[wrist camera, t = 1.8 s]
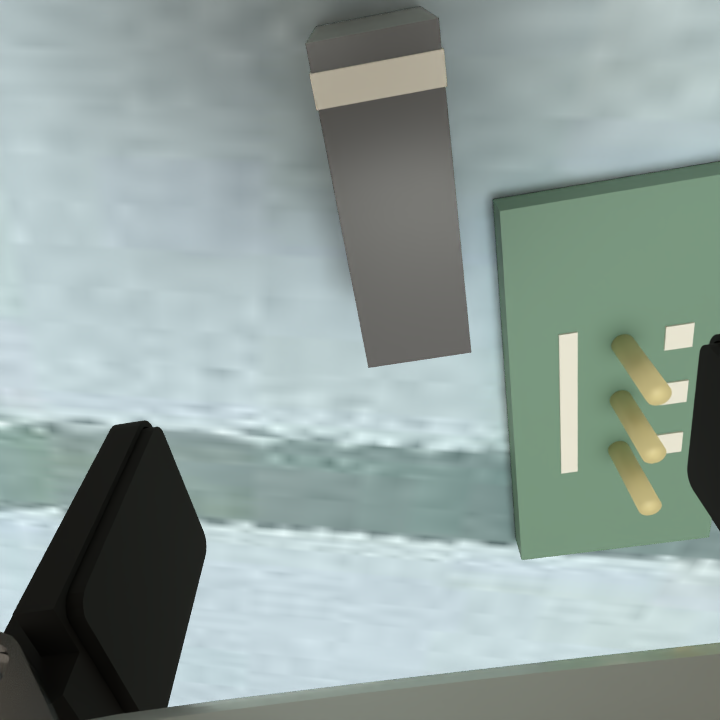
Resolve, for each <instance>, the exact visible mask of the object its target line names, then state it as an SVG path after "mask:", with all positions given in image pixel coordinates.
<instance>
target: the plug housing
mask: <svg viewBox="0 0 720 720" xmlns="http://www.w3.org/2000/svg"><path fill="white" fill-rule="evenodd" d="M306 49H307V54H308V59H309V64H310V69H311V72H310V74H309V75H310V80H311V85H312V90H313V95H314V100H315V105H316V110H319V116H320V121H321V126H322V131H323V136H324V141H325V146H326V152H327V157H328V162H329V167H330V172H331V177H332V182H333V188H334V193H335V198H336V203H337V208H338V213H339V219H340V224H341V229H342V234H343V239H344V244H345V249H346V255H347V260H348V265H349V270H350V275H351V280H352V285H353V291H354V296H355V301H356V306H357V311H358V316H359V321H360V327H361V332H362V337H363V342H364V347H365V352H366V357H367V363H368V368H370V367H377V366H384V365H390V364H397V363H404V362H410V361H417V360H424V359H431V358H437V357H444V356H451V355H457V354H464V353H471V345H470V335H469V324H468V314H467V304H466V294H465V283H464V273H463V263H462V252H461V242H460V232H459V222H458V211H457V201H456V191H455V181H454V170H453V160H452V150H451V139H450V129H449V119H448V109H447V98H446V88H445V87H446V86H447V77H446V66H445V56H444V49H443V48H442V47H441V37H440V26H439V18H438V17H436V16H435V15H433V14H432V13H430V12H429V11H427V10H425V9H424V8H422V7H421V6H419V7H414V8H409V9H404V10H399V11H394V12H388V13H383V14H378V15H373V16H368V17H363V18H358V19H352V20H347V21H342V22H337V23H332V24H327V25H321V26H316V28H315V29H314V31H313V32H312V34H311V36H310V37H309V39H308V40H307V42H306Z"/></svg>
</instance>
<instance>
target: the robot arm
mask: <svg viewBox="0 0 720 720" xmlns="http://www.w3.org/2000/svg"><path fill="white" fill-rule="evenodd" d="M687 474H688V479H689V483H690V485H691V487H692V489H693V491H694V493H695V494H696V496H697V497H698V499H699V500H700V502H701V503H702V505H703V506H704V508H705V509H706V511H707V512H708V514H709V515H710V517H711V518H712V520H713V521H714V523H715V524H716V526H717V527H718V529H719V530H720V334H715V335H714V336H712V338H711V340H710V343H709V344H707V345H703V346H702V347H701V349H700V353H699V361H698V370H697V379H696V389H695V398H694V407H693V417H692V426H691V436H690V445H689V454H688V464H687ZM205 555H206V538H205V534H204V531H203V529H202V527H201V524H200V522H199V519H198V517H197V514H196V512H195V509H194V507H193V504H192V502H191V499H190V497H189V494H188V492H187V490H186V487H185V485H184V482H183V480H182V477H181V475H180V472H179V470H178V467H177V465H176V462H175V460H174V458H173V455H172V453H171V450H170V448H169V445H168V443H167V440H166V438H165V435H164V433H163V431H162V430H161V428H160V427H152V425H151V424H150V423H149V422H148V421H138V422H131V423H125V424H118V425H114V426H113V427H112V428H111V429H110V431H109V433H108V435H107V437H106V439H105V441H104V443H103V444H102V446H101V448H100V450H99V452H98V454H97V456H96V458H95V460H94V461H93V463H92V465H91V467H90V469H89V471H88V473H87V475H86V477H85V479H84V480H83V482H82V484H81V486H80V488H79V490H78V492H77V494H76V496H75V497H74V499H73V501H72V503H71V505H70V507H69V509H68V511H67V513H66V514H65V516H64V518H63V520H62V522H61V524H60V526H59V528H58V530H57V531H56V533H55V535H54V537H53V539H52V541H51V543H50V545H49V547H48V548H47V550H46V552H45V554H44V556H43V558H42V560H41V562H40V564H39V566H38V567H37V569H36V571H35V573H34V575H33V577H32V579H31V581H30V583H29V584H28V586H27V588H26V590H25V592H24V594H23V596H22V598H21V600H20V601H19V603H18V605H17V607H16V609H15V611H14V613H13V616H12V618H11V620H10V622H9V624H8V626H7V627H6V629H5V631H4V633H2V632H0V720H720V643H712V644H703V645H694V646H684V647H675V648H666V649H657V650H648V651H639V652H630V653H621V654H612V655H602V656H593V657H584V658H575V659H566V660H558V661H549V662H540V663H531V664H523V665H514V666H505V667H496V668H488V669H479V670H470V671H461V672H453V673H444V674H436V675H427V676H418V677H410V678H401V679H393V680H384V681H375V682H367V683H359V684H350V685H342V686H334V687H326V688H317V689H309V690H301V691H293V692H284V693H276V694H268V695H259V696H251V697H243V698H235V699H226V700H218V701H211V702H203V703H196V704H189V705H182V706H174V707H167V706H168V703H169V699H170V695H171V691H172V687H173V683H174V679H175V675H176V671H177V667H178V663H179V659H180V655H181V651H182V647H183V643H184V639H185V635H186V631H187V627H188V623H189V619H190V615H191V611H192V607H193V603H194V599H195V595H196V591H197V587H198V583H199V579H200V575H201V571H202V567H203V563H204V559H205Z"/></svg>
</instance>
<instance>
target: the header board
mask: <svg viewBox="0 0 720 720" xmlns="http://www.w3.org/2000/svg"><path fill="white" fill-rule="evenodd" d="M493 207H494V222H495V237H496V251H497V266H498V281H499V296H500V310H501V325H502V340H503V355H504V369H505V384H506V399H507V414H508V428H509V443H510V458H511V473H512V487H513V502H514V517H515V532H516V541H517V545H518V548H519V552H520V555H521V559H522V560H526V559H534V558H543V557H551V556H559V555H567V554H575V553H583V552H592V551H600V550H608V549H616V548H624V547H633V546H641V545H649V544H657V543H665V542H673V541H682V540H690V539H698V538H706V537H709V534H710V527H711V520H712V518H711V517H710V515H709V514H708V512H707V511H706V509H705V508H704V506H703V505H702V503H701V502H700V500H699V499H698V497H697V496H696V494H695V493H694V491H693V489H692V487H691V485H690V483H689V479H688V474H687V464H688V454H689V445H690V436H691V426H692V417H693V407H694V398H695V389H696V379H697V370H698V361H699V353H700V349H701V347H702V346H703V345H707V344H709V343H710V340H711V338H712V336H714V335H715V334H720V161H719V162H713V163H707V164H701V165H695V166H689V167H683V168H677V169H671V170H665V171H660V172H654V173H648V174H642V175H636V176H630V177H624V178H618V179H612V180H606V181H600V182H594V183H588V184H582V185H576V186H570V187H564V188H558V189H552V190H546V191H541V192H535V193H529V194H523V195H517V196H511V197H505V198H499V199H493Z"/></svg>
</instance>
